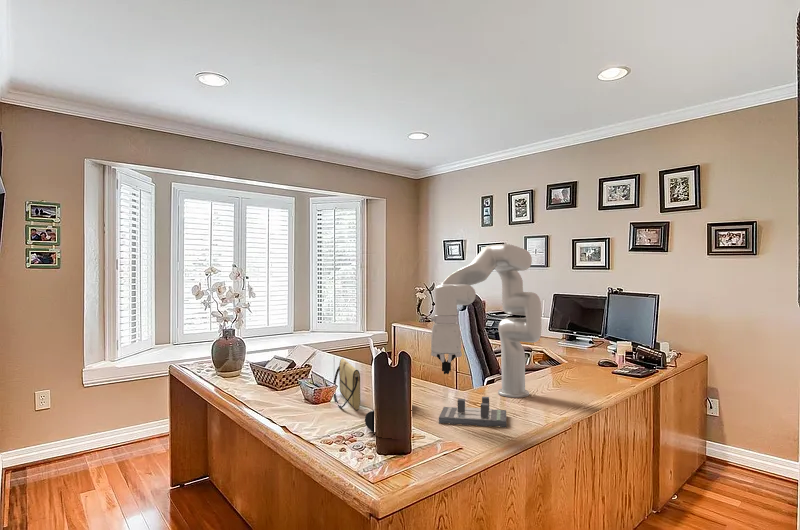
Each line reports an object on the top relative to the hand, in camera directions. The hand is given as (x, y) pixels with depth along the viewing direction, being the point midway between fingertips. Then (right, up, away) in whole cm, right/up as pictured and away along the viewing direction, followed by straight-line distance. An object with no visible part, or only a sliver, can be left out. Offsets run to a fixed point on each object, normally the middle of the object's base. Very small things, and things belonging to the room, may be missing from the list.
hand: (446, 373), depth 161 cm
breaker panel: (+9, -15, -2) cm, 18 cm away
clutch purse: (-38, -17, +22) cm, 47 cm away
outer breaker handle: (+12, -12, -8) cm, 19 cm away
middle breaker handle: (+5, -13, -1) cm, 14 cm away
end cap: (-22, -16, -11) cm, 29 cm away
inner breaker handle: (+14, -13, +1) cm, 19 cm away
